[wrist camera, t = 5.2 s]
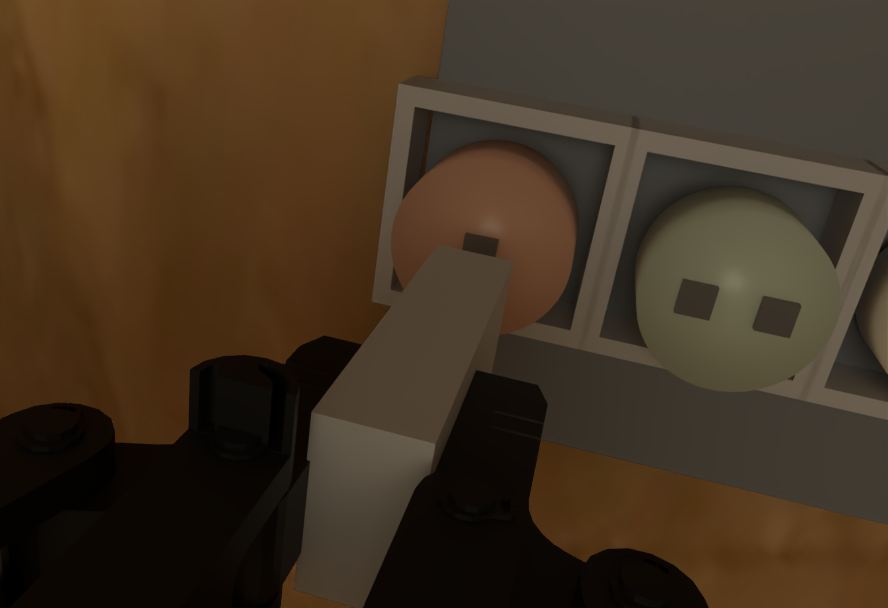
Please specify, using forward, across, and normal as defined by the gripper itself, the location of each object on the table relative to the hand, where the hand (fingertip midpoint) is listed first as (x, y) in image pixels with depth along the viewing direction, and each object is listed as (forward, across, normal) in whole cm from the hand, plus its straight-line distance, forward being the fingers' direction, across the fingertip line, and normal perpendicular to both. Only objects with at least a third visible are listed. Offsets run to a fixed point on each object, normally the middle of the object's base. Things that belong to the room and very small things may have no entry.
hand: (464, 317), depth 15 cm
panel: (+10, +6, 0) cm, 12 cm away
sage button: (+6, +6, 0) cm, 8 cm away
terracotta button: (+6, 0, 0) cm, 6 cm away
